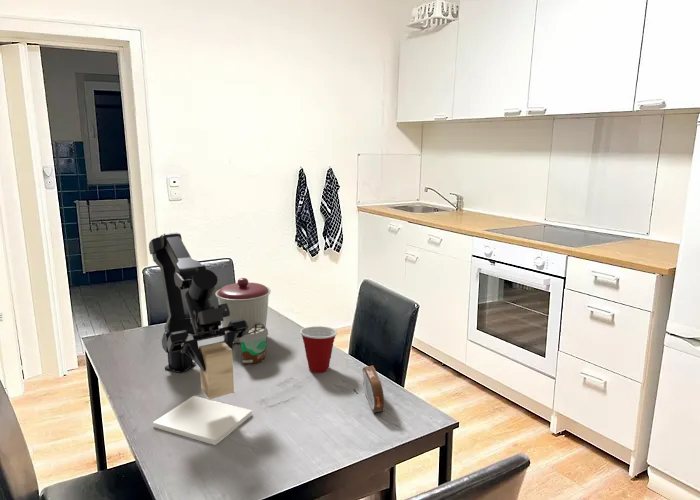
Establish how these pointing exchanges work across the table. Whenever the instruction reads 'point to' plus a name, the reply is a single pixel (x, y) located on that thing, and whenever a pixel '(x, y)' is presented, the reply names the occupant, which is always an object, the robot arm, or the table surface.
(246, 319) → the canister
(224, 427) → the cutting board
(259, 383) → the table surface
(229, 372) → the wooden block
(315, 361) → the plastic cup
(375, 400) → the tin
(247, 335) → the food container
